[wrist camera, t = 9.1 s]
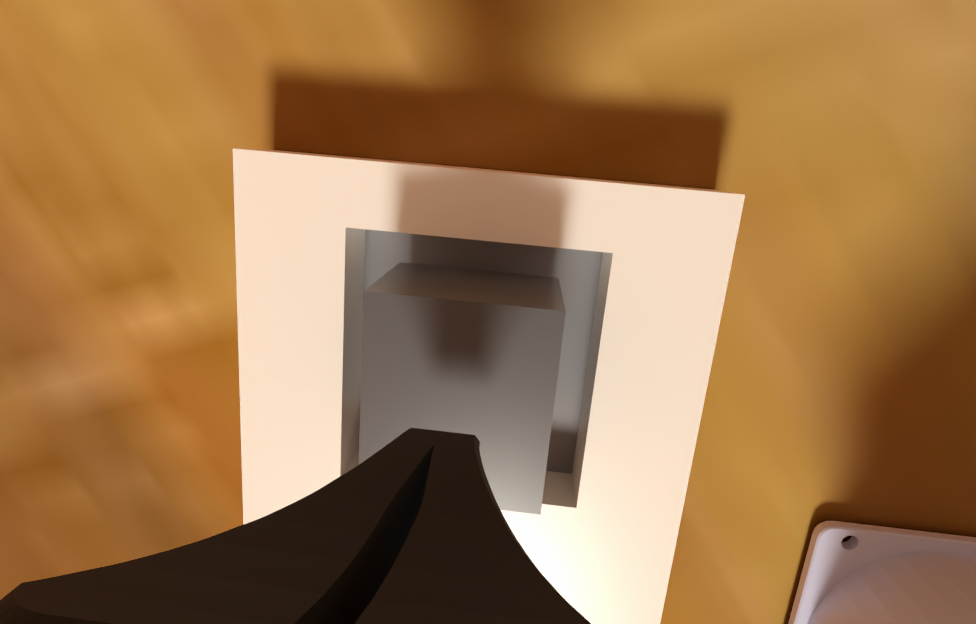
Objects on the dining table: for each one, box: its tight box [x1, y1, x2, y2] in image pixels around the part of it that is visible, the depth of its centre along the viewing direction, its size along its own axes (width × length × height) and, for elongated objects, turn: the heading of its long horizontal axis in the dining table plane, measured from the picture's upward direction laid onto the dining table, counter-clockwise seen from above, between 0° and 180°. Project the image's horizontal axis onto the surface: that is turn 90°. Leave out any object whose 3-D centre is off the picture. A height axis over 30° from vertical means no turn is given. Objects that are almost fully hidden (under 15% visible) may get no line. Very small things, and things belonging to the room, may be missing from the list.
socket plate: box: [233, 148, 745, 624], centre depth 17 cm, size 13×14×3 cm
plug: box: [359, 262, 566, 515], centre depth 15 cm, size 4×5×5 cm
